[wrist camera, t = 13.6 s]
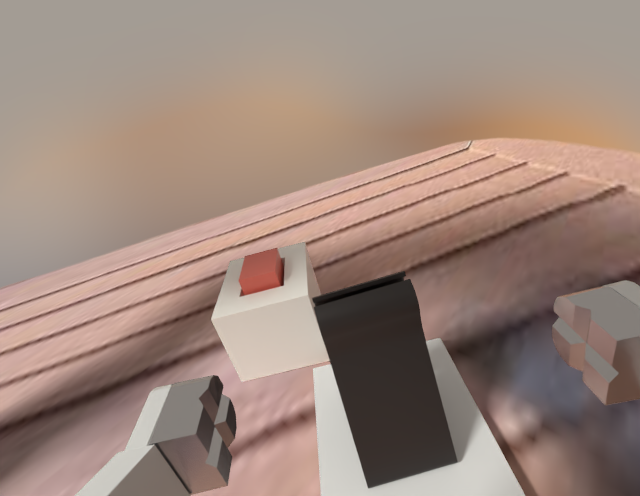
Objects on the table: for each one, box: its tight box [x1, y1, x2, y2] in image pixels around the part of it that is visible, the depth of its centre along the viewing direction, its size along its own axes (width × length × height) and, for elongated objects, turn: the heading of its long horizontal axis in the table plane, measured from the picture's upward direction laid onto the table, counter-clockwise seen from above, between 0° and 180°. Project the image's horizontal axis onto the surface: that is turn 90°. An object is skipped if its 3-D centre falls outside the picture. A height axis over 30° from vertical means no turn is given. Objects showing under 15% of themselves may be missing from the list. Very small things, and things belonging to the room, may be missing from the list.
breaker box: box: [211, 242, 330, 382], centre depth 39 cm, size 9×11×8 cm
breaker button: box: [239, 248, 284, 295], centre depth 37 cm, size 4×5×3 cm
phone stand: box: [312, 271, 458, 489], centre depth 25 cm, size 9×6×12 cm, turn 7°
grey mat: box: [313, 338, 525, 496], centre depth 28 cm, size 12×14×1 cm
